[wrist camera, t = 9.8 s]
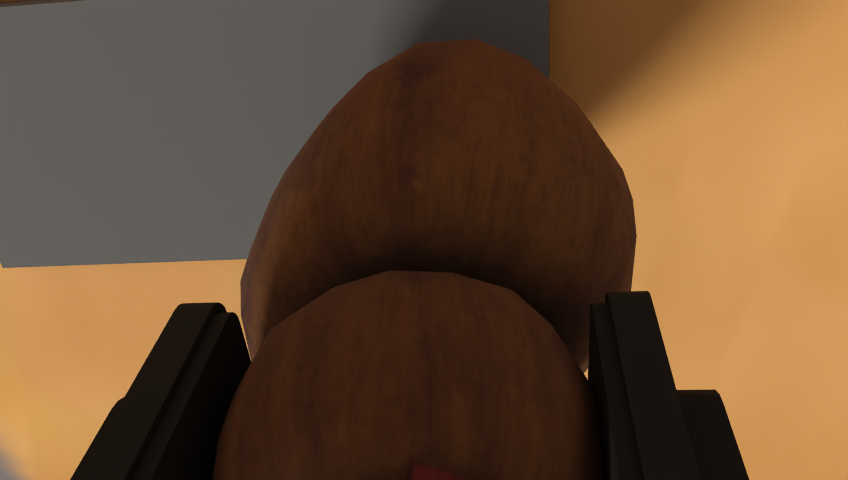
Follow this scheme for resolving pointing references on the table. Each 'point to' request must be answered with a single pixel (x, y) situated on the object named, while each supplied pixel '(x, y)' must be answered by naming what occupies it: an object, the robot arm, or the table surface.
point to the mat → (190, 111)
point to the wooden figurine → (432, 282)
